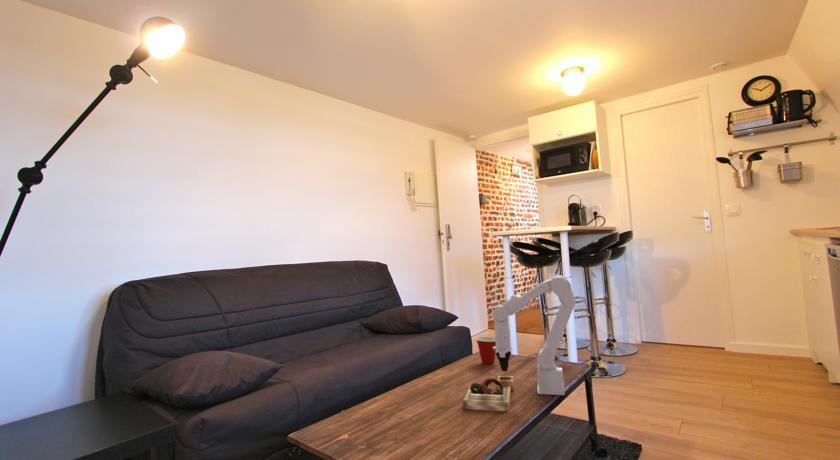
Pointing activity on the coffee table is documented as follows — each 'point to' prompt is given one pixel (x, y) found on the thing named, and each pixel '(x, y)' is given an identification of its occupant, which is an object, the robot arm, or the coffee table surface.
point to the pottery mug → (483, 387)
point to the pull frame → (505, 381)
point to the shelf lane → (487, 402)
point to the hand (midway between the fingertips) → (504, 370)
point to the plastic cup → (487, 349)
